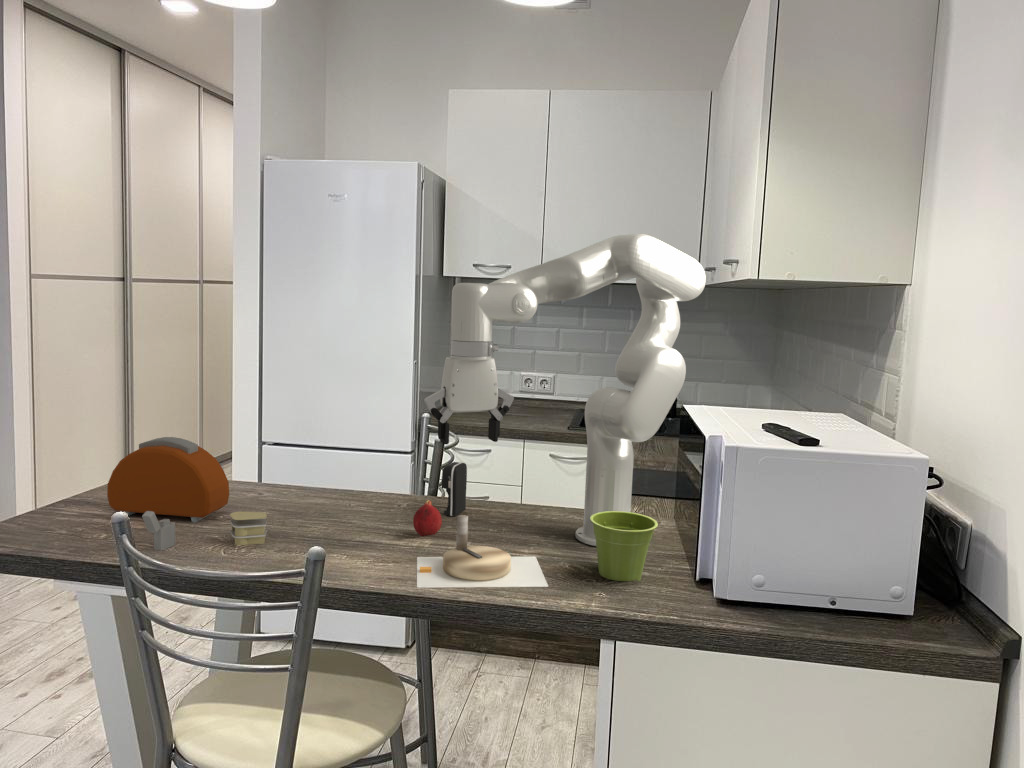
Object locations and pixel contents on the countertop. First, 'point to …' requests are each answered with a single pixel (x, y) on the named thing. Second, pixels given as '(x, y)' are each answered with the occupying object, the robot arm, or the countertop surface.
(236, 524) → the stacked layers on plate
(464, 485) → the battery charger
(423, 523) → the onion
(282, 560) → the countertop surface
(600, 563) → the plant pot
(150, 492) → the orange toaster
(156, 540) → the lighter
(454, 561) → the capstan dial
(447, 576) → the stand
